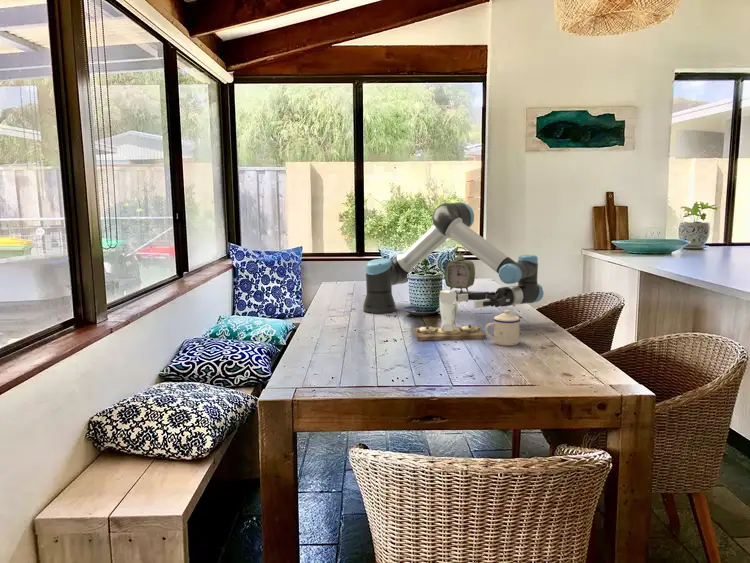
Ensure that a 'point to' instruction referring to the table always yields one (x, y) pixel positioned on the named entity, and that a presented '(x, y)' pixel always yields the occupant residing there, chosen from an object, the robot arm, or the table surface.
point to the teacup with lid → (505, 329)
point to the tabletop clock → (459, 272)
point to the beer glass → (448, 309)
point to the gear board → (449, 333)
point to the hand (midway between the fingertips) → (464, 301)
